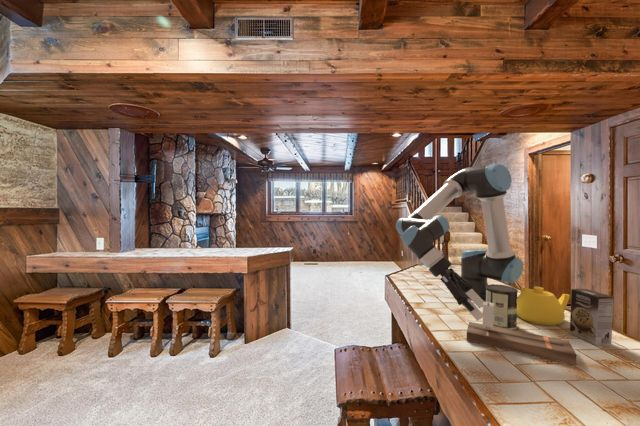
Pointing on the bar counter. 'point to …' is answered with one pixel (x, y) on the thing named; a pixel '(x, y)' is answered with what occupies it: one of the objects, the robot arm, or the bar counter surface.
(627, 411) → the bar counter surface
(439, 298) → the bar counter surface
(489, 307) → the fader
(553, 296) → the teapot
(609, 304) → the cookie box
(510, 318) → the coffee can
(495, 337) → the brown slab
